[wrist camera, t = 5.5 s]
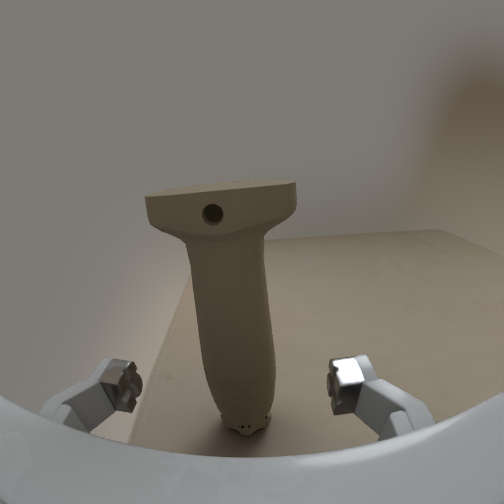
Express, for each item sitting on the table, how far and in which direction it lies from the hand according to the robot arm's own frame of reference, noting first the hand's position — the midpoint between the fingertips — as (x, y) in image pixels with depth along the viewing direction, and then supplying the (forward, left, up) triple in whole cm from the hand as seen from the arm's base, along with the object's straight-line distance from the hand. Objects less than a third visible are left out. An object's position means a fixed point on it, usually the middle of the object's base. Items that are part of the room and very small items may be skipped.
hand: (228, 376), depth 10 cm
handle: (+2, +3, -8) cm, 9 cm away
